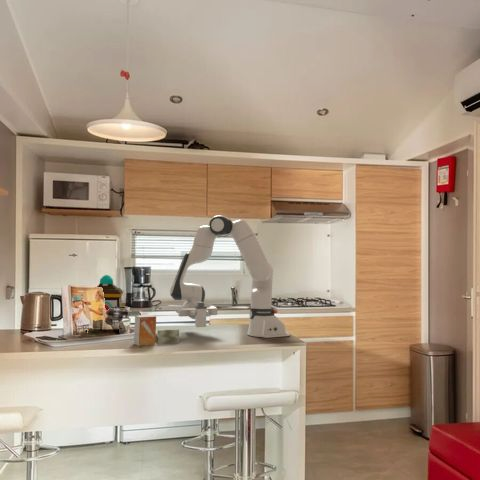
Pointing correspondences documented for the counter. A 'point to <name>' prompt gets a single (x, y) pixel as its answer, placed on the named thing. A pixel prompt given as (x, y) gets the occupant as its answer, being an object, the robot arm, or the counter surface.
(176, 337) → the socket
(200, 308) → the connector
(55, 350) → the counter surface
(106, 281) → the decorative lantern
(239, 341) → the counter surface
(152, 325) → the small box
